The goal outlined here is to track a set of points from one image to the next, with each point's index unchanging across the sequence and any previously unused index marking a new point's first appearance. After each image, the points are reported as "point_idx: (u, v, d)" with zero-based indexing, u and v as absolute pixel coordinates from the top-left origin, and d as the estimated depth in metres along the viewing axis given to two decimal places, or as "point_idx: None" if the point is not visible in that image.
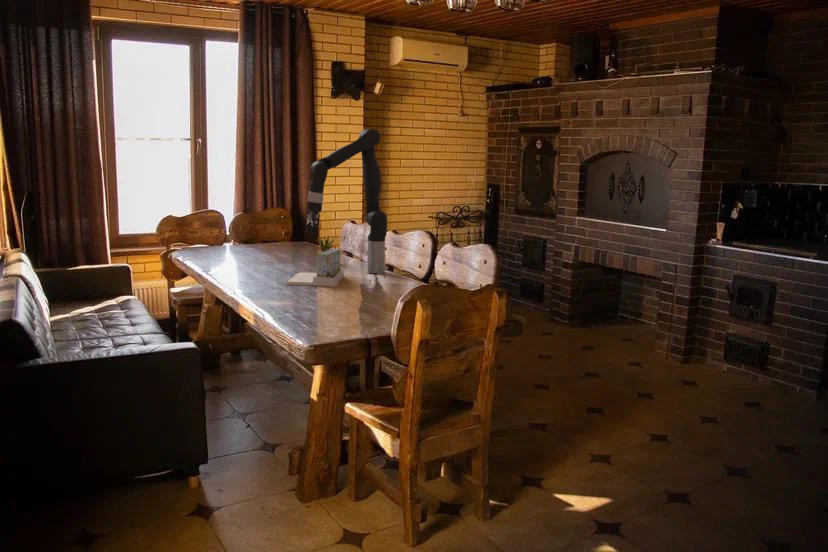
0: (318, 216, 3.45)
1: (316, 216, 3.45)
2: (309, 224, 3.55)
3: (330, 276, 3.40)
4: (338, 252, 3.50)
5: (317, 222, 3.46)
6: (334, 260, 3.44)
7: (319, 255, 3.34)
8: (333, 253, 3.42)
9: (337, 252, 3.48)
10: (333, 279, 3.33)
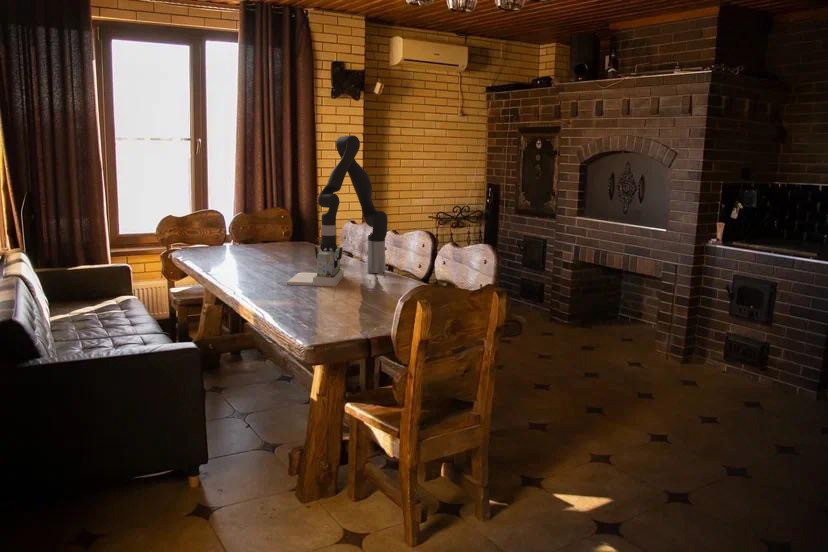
0: (342, 249, 3.44)
1: (342, 250, 3.43)
2: None
3: (330, 276, 3.40)
4: (338, 252, 3.50)
5: None
6: (334, 260, 3.44)
7: (319, 255, 3.34)
8: None
9: (337, 252, 3.48)
10: (333, 279, 3.33)
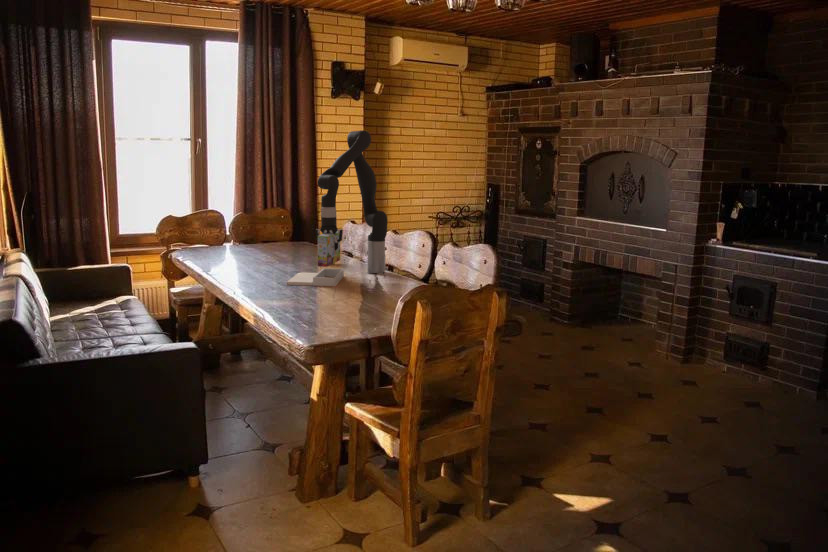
0: (342, 231, 3.42)
1: (342, 232, 3.41)
2: None
3: (330, 258, 3.38)
4: (338, 234, 3.49)
5: None
6: (334, 242, 3.42)
7: (319, 237, 3.32)
8: None
9: (337, 234, 3.47)
10: (333, 279, 3.33)
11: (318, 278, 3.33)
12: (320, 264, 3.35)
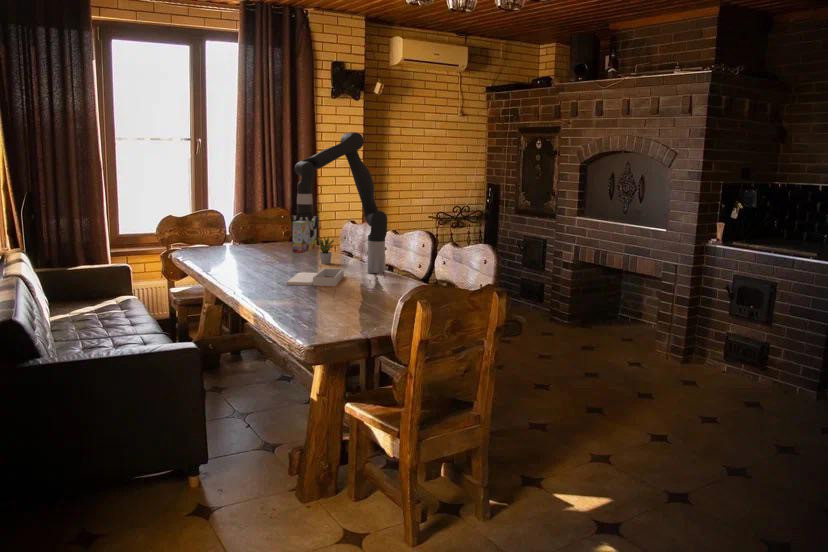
0: (318, 218, 3.42)
1: (318, 219, 3.41)
2: None
3: (306, 245, 3.38)
4: (314, 222, 3.48)
5: None
6: (310, 229, 3.42)
7: (294, 223, 3.32)
8: None
9: (313, 221, 3.46)
10: (333, 279, 3.33)
11: (318, 278, 3.33)
12: (295, 250, 3.34)
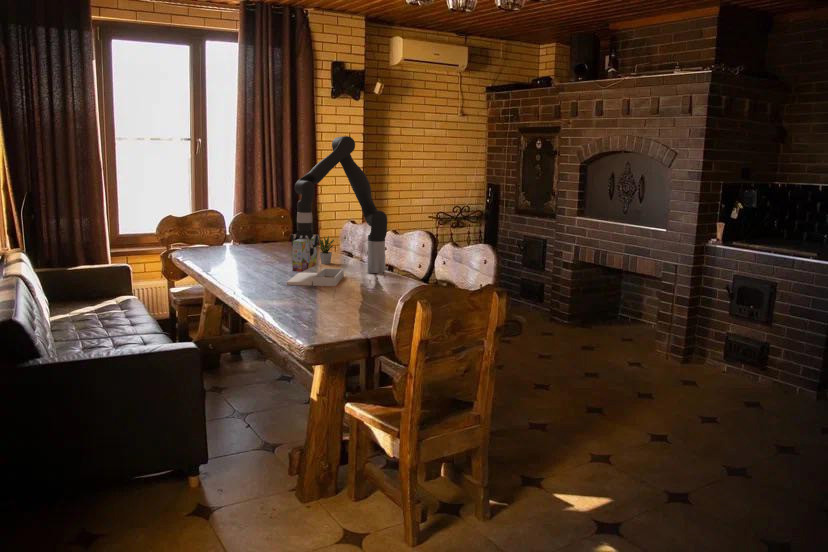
0: (318, 237, 3.43)
1: (318, 237, 3.42)
2: None
3: (306, 263, 3.39)
4: (314, 239, 3.50)
5: None
6: (310, 247, 3.44)
7: (294, 242, 3.33)
8: None
9: (313, 239, 3.48)
10: (333, 279, 3.33)
11: (318, 278, 3.33)
12: (295, 269, 3.36)
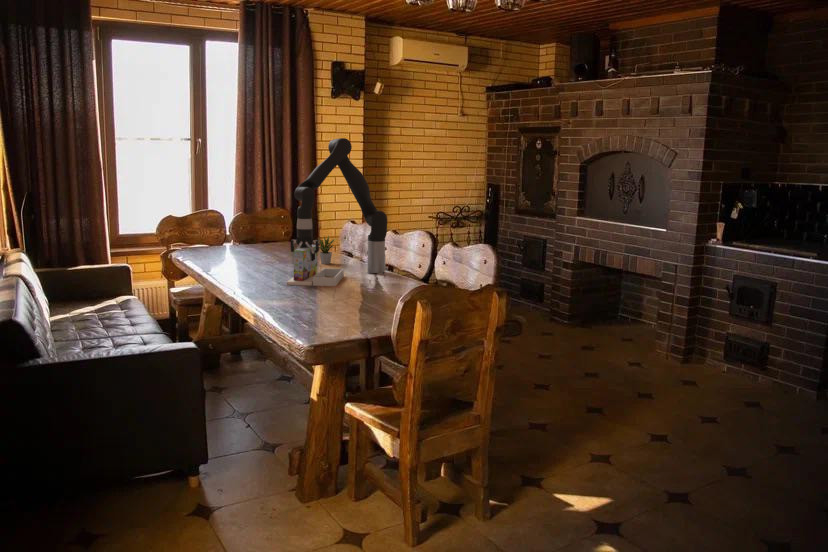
0: (318, 242, 3.44)
1: (318, 242, 3.43)
2: None
3: (306, 272, 3.40)
4: (315, 248, 3.51)
5: None
6: (311, 256, 3.44)
7: (295, 251, 3.34)
8: None
9: (314, 248, 3.49)
10: (333, 279, 3.33)
11: (318, 278, 3.33)
12: (296, 278, 3.36)
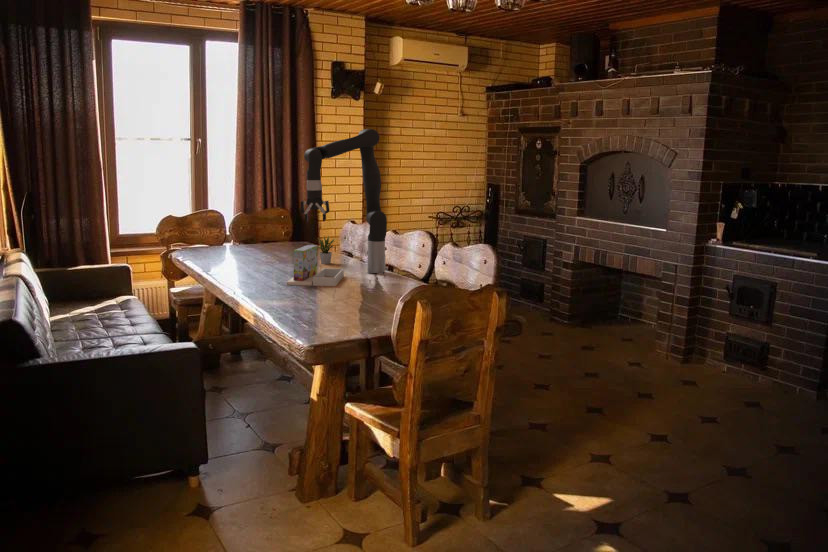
0: (328, 202, 3.50)
1: (328, 203, 3.49)
2: None
3: (306, 272, 3.40)
4: (315, 248, 3.51)
5: None
6: (311, 256, 3.44)
7: (295, 251, 3.34)
8: (310, 249, 3.43)
9: (314, 248, 3.49)
10: (333, 279, 3.33)
11: (318, 278, 3.33)
12: (296, 278, 3.36)
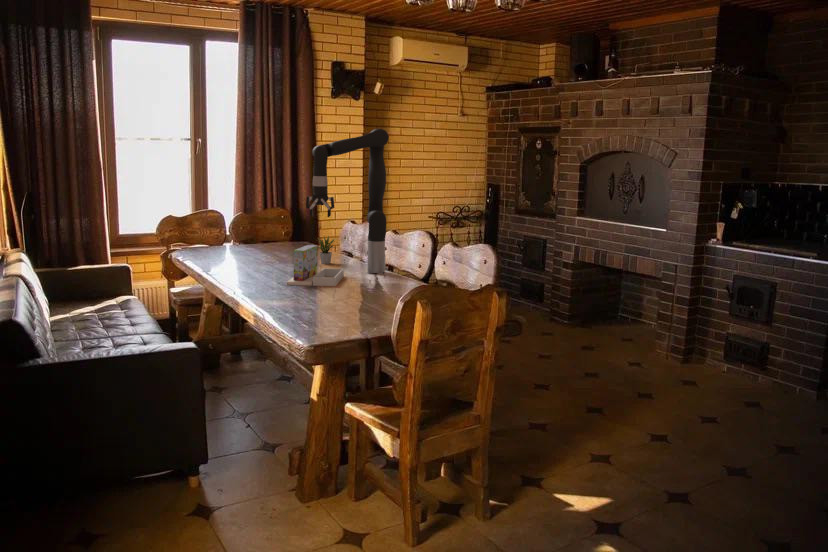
0: (333, 198, 3.56)
1: (333, 199, 3.56)
2: (312, 208, 3.57)
3: (306, 272, 3.40)
4: (315, 248, 3.51)
5: None
6: (311, 256, 3.44)
7: (295, 251, 3.34)
8: (310, 249, 3.43)
9: (314, 248, 3.49)
10: (333, 279, 3.33)
11: (318, 278, 3.33)
12: (296, 278, 3.36)
